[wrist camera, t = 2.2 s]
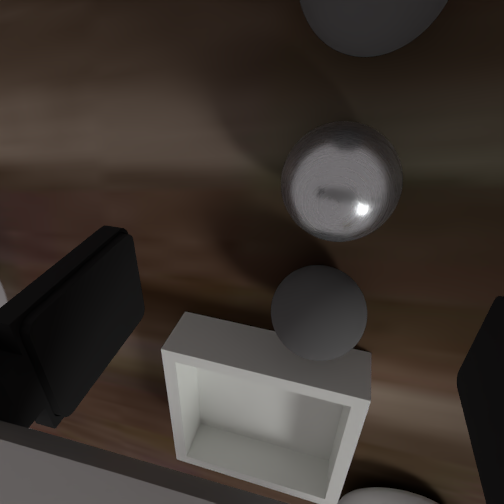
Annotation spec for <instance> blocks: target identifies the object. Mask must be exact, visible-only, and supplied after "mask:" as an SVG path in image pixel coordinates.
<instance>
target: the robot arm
mask: <svg viewBox="0 0 504 504" xmlns="http://www.w3.org/2000/svg"><path fill="white" fill-rule="evenodd" d="M144 309H145V308H144V301H143V295H142V289H141V283H140V277H139V271H138V266H137V260H136V254H135V248H134V242H133V238H132V236H131V235H129V234H128V232H127V231H126V230H125V229H124V228H118V227H112V226H103V227H101V228H100V229H98V230H97V231H96V232H95V233H93V234H92V235H91V236H90V237H88V238H87V239H86V240H85V241H83V242H82V243H81V244H80V245H78V246H77V247H76V248H75V249H73V250H72V251H71V252H70V253H68V254H67V255H66V256H65V257H63V258H62V259H61V260H60V261H58V262H57V263H56V264H55V265H53V266H52V267H51V268H50V269H48V270H47V271H46V272H45V273H43V274H42V275H41V276H40V277H38V278H37V279H36V280H35V281H33V282H32V283H31V284H30V285H28V286H27V287H26V288H25V289H23V290H22V291H21V292H20V293H18V294H17V295H16V296H15V297H13V298H12V299H11V300H10V301H8V302H7V303H6V304H5V305H3V306H2V307H1V308H0V504H288V503H284V502H281V501H277V500H274V499H271V498H267V497H264V496H261V495H257V494H254V493H250V492H247V491H244V490H240V489H237V488H233V487H230V486H227V485H223V484H220V483H216V482H213V481H210V480H206V479H203V478H199V477H196V476H193V475H189V474H186V473H182V472H179V471H176V470H172V469H169V468H165V467H162V466H159V465H155V464H152V463H148V462H145V461H141V460H138V459H134V458H131V457H127V456H124V455H121V454H117V453H114V452H110V451H107V450H103V449H100V448H96V447H93V446H89V445H86V444H82V443H79V442H75V441H72V440H69V439H65V438H62V437H58V436H55V435H51V434H48V433H44V432H41V431H37V430H33V429H29V427H30V425H31V424H32V423H33V422H34V421H36V423H38V424H41V425H45V426H48V427H51V428H56V427H57V426H58V424H59V423H60V422H61V420H62V419H63V418H64V417H68V416H69V415H71V414H72V413H73V411H74V410H75V409H76V407H77V406H78V405H79V403H80V402H81V401H82V399H83V398H84V397H85V395H86V394H87V393H88V391H89V390H90V388H91V387H92V386H93V384H94V383H95V382H96V380H97V379H98V378H99V376H100V375H101V374H102V372H103V371H104V369H105V368H106V367H107V365H108V364H109V363H110V361H111V360H112V359H113V357H114V356H115V355H116V353H117V352H118V351H119V349H120V348H121V346H122V345H123V344H124V342H125V341H126V340H127V338H128V337H129V336H130V334H131V333H132V332H133V330H134V329H135V327H136V326H137V325H138V323H139V322H140V321H141V319H142V317H143V315H144ZM457 388H458V392H459V396H460V400H461V404H462V408H463V412H464V416H465V420H466V424H467V428H468V432H469V436H470V440H471V444H472V448H473V452H474V456H475V460H476V464H477V468H478V472H479V476H480V480H481V484H482V488H483V492H484V496H485V500H486V504H504V297H503V296H498V297H497V298H496V299H495V300H494V302H493V304H492V306H491V308H490V310H489V312H488V314H487V316H486V318H485V320H484V322H483V324H482V326H481V328H480V330H479V332H478V334H477V336H476V338H475V340H474V342H473V344H472V346H471V348H470V350H469V352H468V354H467V356H466V358H465V360H464V362H463V364H462V366H461V368H460V370H459V372H458V376H457Z"/></svg>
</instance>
